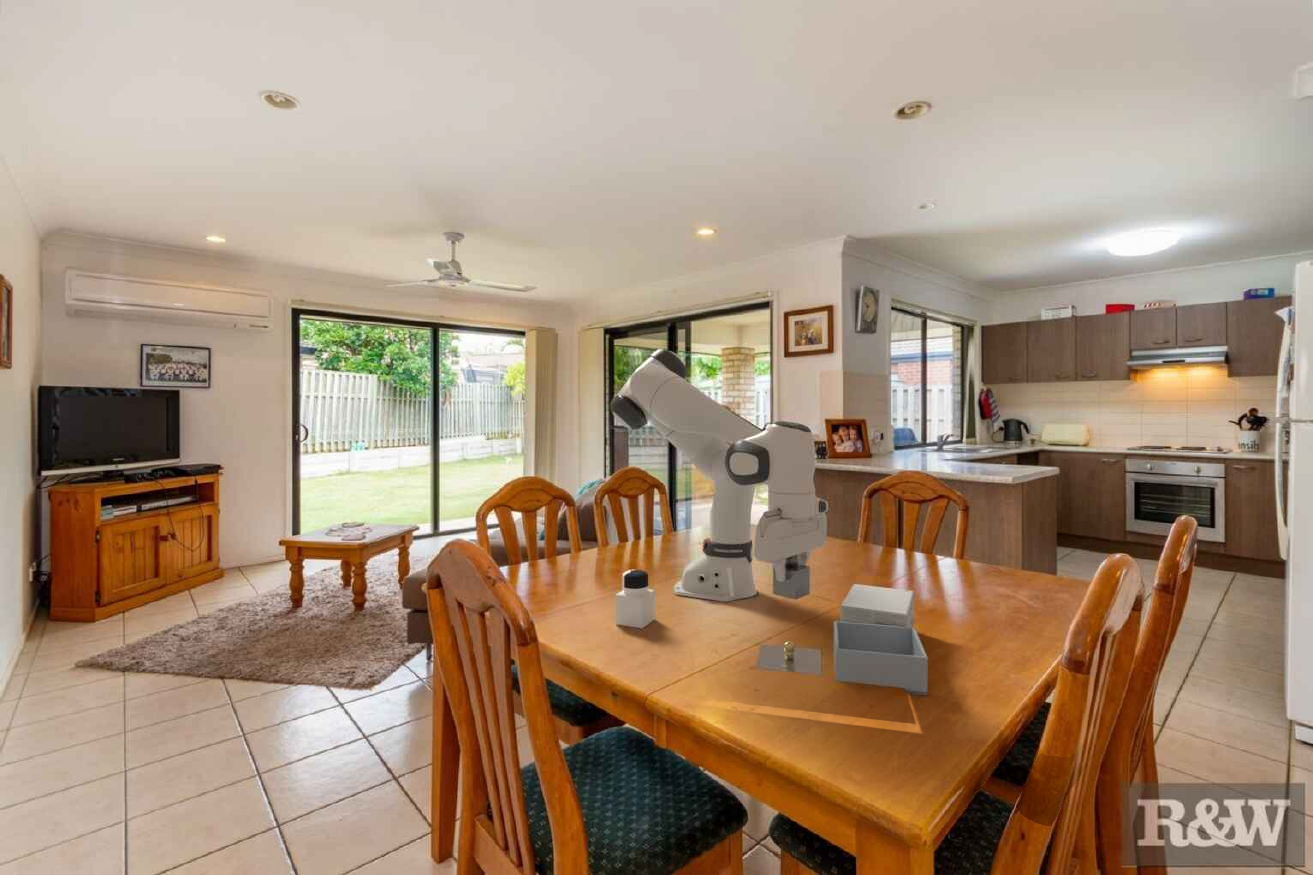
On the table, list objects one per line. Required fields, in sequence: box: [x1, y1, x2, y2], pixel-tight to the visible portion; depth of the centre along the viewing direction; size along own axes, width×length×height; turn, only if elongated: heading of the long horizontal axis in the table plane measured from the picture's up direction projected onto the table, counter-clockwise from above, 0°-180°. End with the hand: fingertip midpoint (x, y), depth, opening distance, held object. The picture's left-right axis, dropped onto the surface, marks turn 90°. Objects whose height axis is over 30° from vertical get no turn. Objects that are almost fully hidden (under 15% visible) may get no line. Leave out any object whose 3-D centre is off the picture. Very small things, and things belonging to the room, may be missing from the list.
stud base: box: [754, 640, 822, 676], centre depth 117 cm, size 12×12×4 cm
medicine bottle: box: [614, 569, 656, 629], centre depth 141 cm, size 7×7×12 cm
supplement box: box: [840, 583, 915, 628], centre depth 130 cm, size 17×13×9 cm
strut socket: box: [772, 555, 811, 601], centre depth 117 cm, size 5×5×8 cm
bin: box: [833, 620, 929, 697], centre depth 113 cm, size 15×15×7 cm
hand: (791, 577), depth 117 cm, fingers closed on strut socket, 5 cm apart
